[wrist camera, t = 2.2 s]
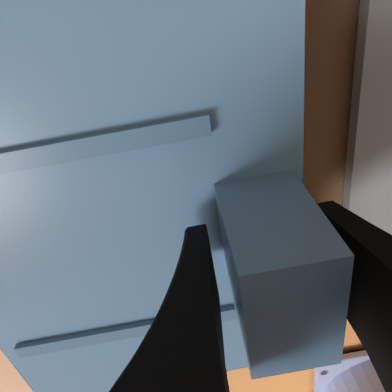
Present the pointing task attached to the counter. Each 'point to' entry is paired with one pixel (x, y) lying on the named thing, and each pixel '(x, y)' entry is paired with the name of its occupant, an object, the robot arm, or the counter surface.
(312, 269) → the lid
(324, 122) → the counter surface
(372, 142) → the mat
